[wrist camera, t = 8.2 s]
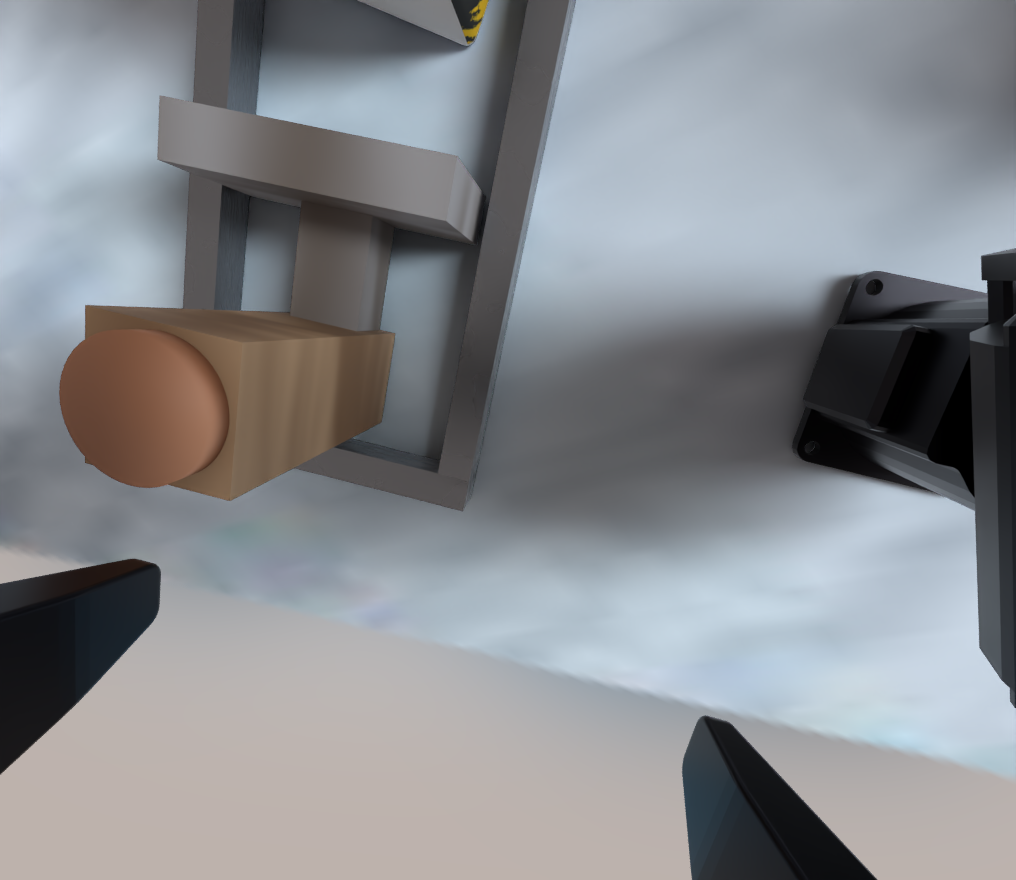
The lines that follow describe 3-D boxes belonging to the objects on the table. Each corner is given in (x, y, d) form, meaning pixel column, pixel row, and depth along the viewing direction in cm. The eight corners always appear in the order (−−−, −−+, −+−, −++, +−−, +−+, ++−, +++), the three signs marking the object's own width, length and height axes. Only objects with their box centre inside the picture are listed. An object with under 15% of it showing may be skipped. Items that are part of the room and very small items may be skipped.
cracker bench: (649, -351, 14) (723, -995, 7) (470, 497, 20) (418, 585, 13) (256, -400, 15) (-15, -1020, 8) (204, 429, 21) (28, 480, 14)
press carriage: (486, 197, 17) (384, 50, 8) (441, 436, 20) (319, 542, 10) (260, 150, 18) (-83, -38, 9) (240, 387, 20) (-50, 444, 11)
